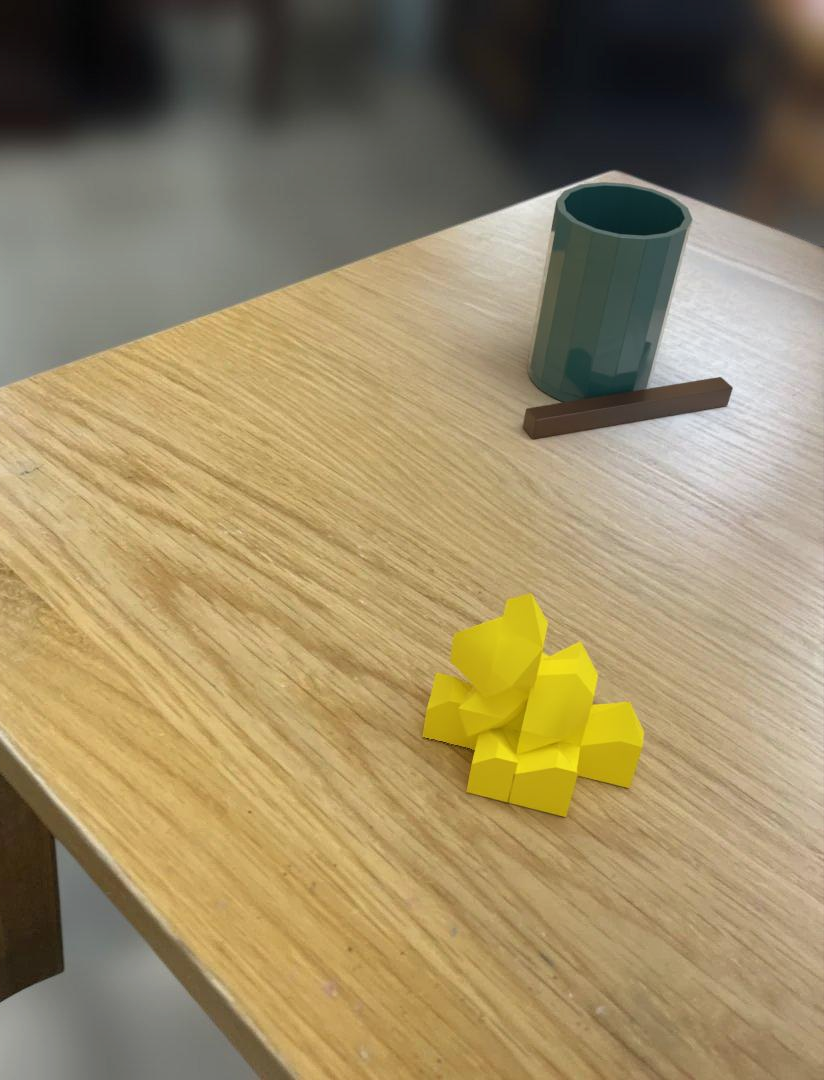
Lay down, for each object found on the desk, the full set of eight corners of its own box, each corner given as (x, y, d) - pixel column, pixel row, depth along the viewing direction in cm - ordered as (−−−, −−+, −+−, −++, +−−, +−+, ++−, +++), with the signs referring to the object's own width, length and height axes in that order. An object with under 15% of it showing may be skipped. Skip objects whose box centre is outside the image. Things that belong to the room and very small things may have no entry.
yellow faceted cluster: (624, 831, 45) (674, 683, 40) (410, 778, 46) (432, 628, 42) (636, 718, 49) (682, 571, 44) (441, 672, 51) (463, 526, 46)
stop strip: (715, 394, 68) (721, 376, 68) (728, 406, 67) (733, 387, 67) (522, 427, 65) (525, 408, 64) (532, 439, 64) (535, 420, 64)
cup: (610, 338, 73) (646, 176, 66) (672, 398, 68) (718, 229, 62) (506, 353, 71) (534, 189, 65) (562, 416, 66) (598, 245, 60)
